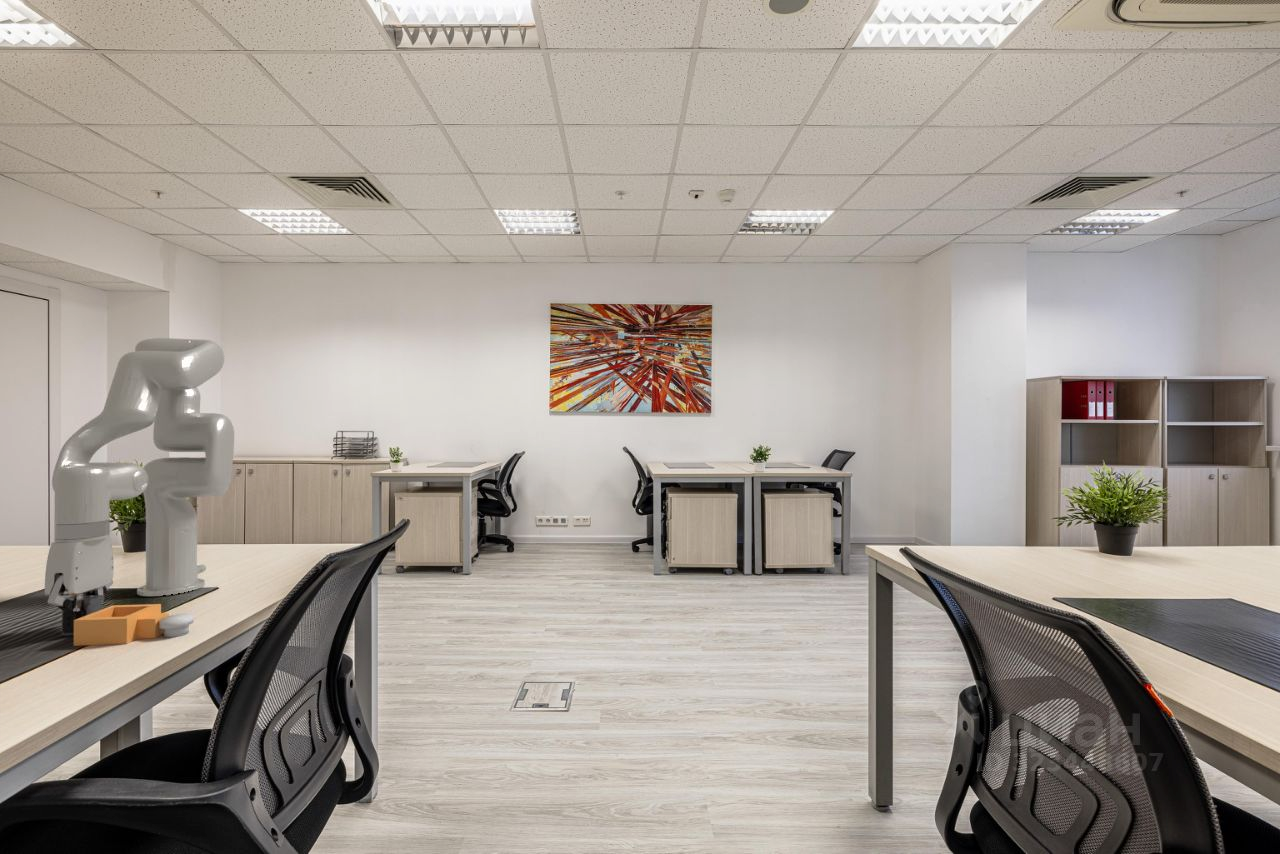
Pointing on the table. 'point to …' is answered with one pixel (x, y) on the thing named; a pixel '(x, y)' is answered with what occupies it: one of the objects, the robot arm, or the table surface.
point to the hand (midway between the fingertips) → (82, 627)
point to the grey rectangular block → (88, 606)
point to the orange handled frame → (129, 625)
